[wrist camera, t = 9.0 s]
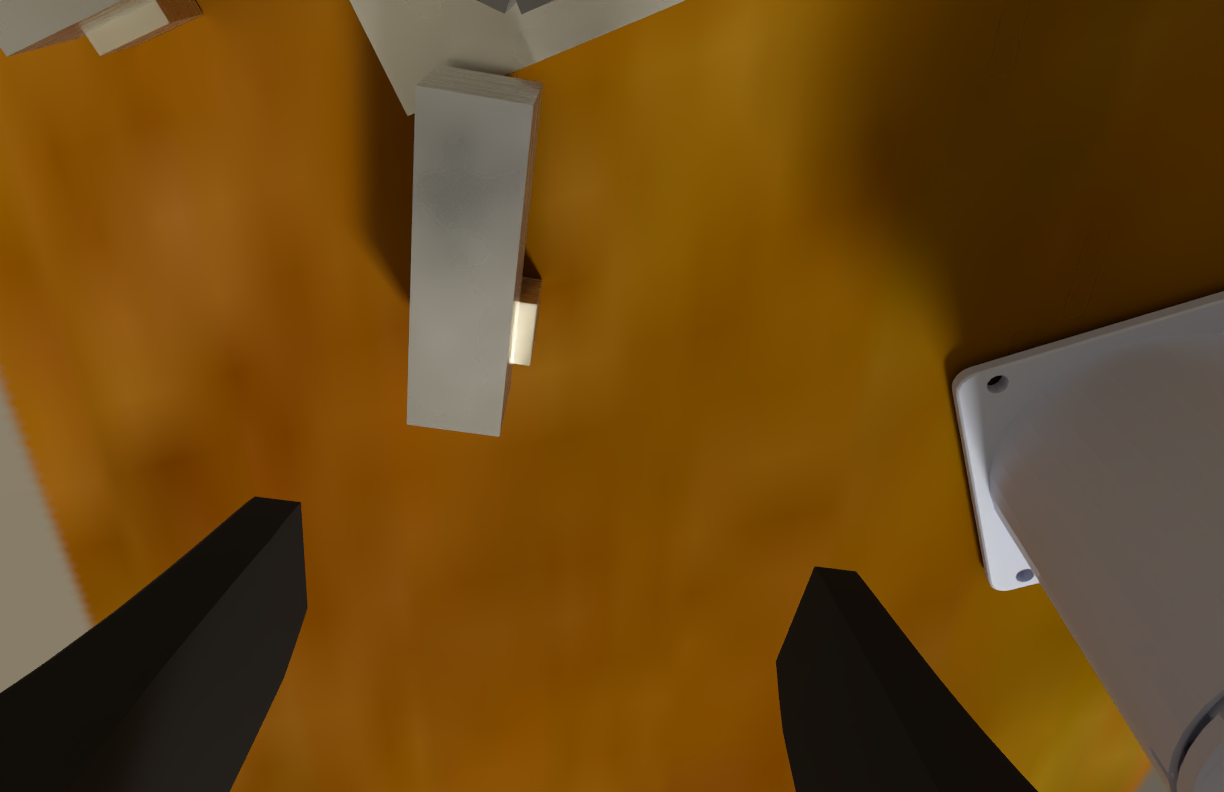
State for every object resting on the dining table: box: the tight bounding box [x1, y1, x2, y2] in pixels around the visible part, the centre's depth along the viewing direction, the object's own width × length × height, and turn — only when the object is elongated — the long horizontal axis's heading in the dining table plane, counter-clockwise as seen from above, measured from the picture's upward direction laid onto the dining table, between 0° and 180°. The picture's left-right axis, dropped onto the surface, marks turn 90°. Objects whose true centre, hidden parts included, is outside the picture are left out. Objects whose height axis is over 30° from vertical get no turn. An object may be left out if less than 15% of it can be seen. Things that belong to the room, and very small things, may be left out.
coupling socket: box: [0, 0, 685, 437], centre depth 14 cm, size 14×15×3 cm
